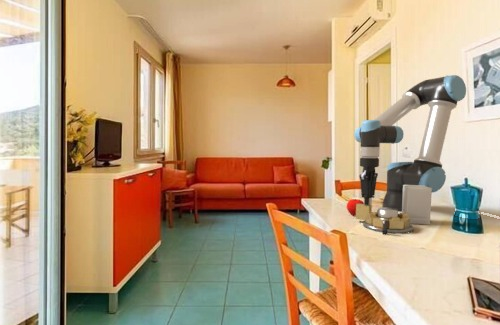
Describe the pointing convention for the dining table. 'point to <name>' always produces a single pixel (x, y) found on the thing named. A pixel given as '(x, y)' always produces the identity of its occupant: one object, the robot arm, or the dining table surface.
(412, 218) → the supplement box
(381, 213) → the hub base
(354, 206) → the apple
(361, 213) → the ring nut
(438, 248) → the dining table surface
